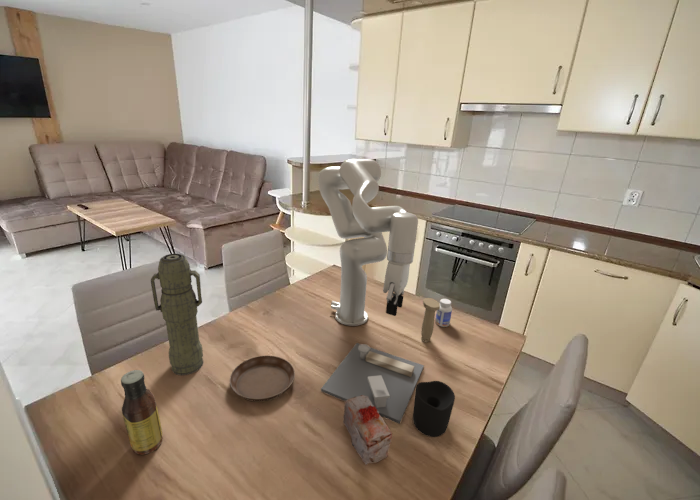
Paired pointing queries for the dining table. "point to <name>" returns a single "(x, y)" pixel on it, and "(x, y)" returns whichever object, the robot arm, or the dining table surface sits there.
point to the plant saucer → (262, 378)
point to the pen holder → (432, 407)
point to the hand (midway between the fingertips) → (394, 309)
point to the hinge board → (360, 385)
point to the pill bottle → (444, 313)
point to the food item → (367, 429)
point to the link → (390, 363)
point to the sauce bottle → (140, 414)
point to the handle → (429, 318)
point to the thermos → (179, 312)
